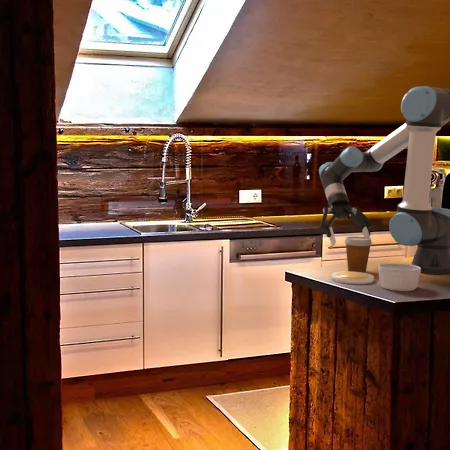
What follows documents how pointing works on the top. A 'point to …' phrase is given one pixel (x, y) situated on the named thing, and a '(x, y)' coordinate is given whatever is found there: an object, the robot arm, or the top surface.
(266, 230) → the top surface
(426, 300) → the top surface
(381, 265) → the ramekin
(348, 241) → the disposable coffee cup
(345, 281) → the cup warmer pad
